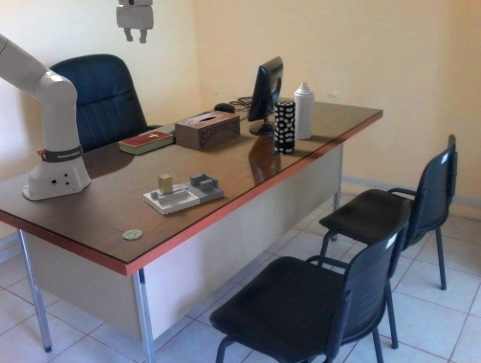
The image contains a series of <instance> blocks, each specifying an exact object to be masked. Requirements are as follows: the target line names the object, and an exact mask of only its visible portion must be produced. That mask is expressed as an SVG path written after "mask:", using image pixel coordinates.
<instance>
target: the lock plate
mask: <svg viewBox="0 0 481 363" xmlns="http://www.w3.org/2000/svg"><path fill="white" fill-rule="evenodd" d="M180 184H184V185H186V186H188V188H189V193H185V190H181V191H177V192H174V193H171V194H167V195H164V196H160V197H158V199H157V198H156V196H155V191H159V188H158V189H155V190H151V191H149V192H148V193H143V194H142V197H143V201H144V202H146V203H147V204H148V205H149V206H151V207H152V208H154V210H156V211H157V212H158V213H159V214H161V215H162V214H163V215H162V216H165V215H164V214H166V215H169V214H168V213H170V214H172V213H171V212H173V213H175V212H174V211H176V212H178V210H179V211H182V210H185V209H188V208H191V206H192V207H194V205H195V206H197V204H198V205H200V204H203V203H208V202H210V201H213V200H216V199H219V198H223V197H225V191H224V189H223V188H220V187H219V179H218V178H216V177H214V176H212V175H210V174H208V173H207V172H202V173H197V174H195V175H191V176H189V181H186V182H182V183H179V184H172V185H173V186H176V185H180ZM187 207H188V208H187ZM184 208H185V209H184ZM181 209H182V210H181Z"/></svg>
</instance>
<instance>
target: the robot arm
mask: <svg viewBox="0 0 481 363" xmlns="http://www.w3.org/2000/svg"><path fill="white" fill-rule="evenodd" d="M153 3H154V2H153V0H118V3H117V6H116V9H115V15H116V25H117V27H118V28H120V29H121V28H122V29H123V32H124V34H125V37H126V42H129V43H131V42H134V38H133V35H132V32H131V31H132V29H133V30H139V35H140V37H139V38H138V40H139V43H140V44H147V36H148V31H149V30H153V29H154V23H155V20H154V10H153V7H152V6H153ZM0 78H1V79H3V80H4V81H5V82H8V83H9V84H10V85H12V86H14V87H15V88H16V89H18V90H20V91H21V92H23V93H25V94H26V95H28V96H30V97H31V98H33V99H34V100H36V101H37V102H39V104H40V110H41V131H42V136H43V140H44V141H43V142H44V145H45V146H44V147H45V148H44V149H41V148H38V149H37V150H36V154H37V155H38V156H40V159H41V160H40V162H39V163H37V165H35V166H34V167H33V168H32V170H30V171H29V173H28V176H27V184H26V185H24V186H23V187H22V194H23V196H24V197H25V199H27V200H31V201H41V200H46V199H50V198H57V197H62V196H67V195H72V194H77V193H80V192H81V191H83V190H84V189H85V188H87V186H89V185H90V184H91V182H92V180H91V178H90V176H89V173H88V171H87V168H86V166H85V162H84V152H83V151H84V150H83V147H82V143H80V138H79V132H78V127H77V100H78V92H77V89H76V86H75V85H74V84H73V82H72V81H71V80H69V79H68V78H67V77H65V76H62V75H60V74H59V73H56V72H55V71H53V70H51V69H50V68H48V67H47V66H46V65H45V64H43V63H42V62H41V61H39V60H38V59H37V58H36V57H34V56H33V55H32V54H31V53H29V52H28V51H27V50H25V49H23V48H22V47H21V46H19V45H17V43H15V42H14V41H12V40H11V39H9V38H8V37H6V36H5V35H4V34H2V33H1V32H0Z"/></svg>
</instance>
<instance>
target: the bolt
mask: <svg viewBox="0 0 481 363" xmlns="http://www.w3.org/2000/svg"><path fill="white" fill-rule="evenodd" d="M157 181H158V189H159V191H155V196H156V198H157V199H158V197H160V196H164V195H167V194H171V193H174V192H177V191H181V190H185V193H189V188H188V186H186V185H184V184H182V183H179V184H180V185H178V184H175V185H176V186H173V185H174V184H173V177H172V175H170V174H168V173H162V174H159V175H157Z"/></svg>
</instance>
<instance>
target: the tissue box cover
mask: <svg viewBox="0 0 481 363" xmlns="http://www.w3.org/2000/svg"><path fill="white" fill-rule="evenodd" d="M174 130H175V131H174V132H175V141H176V142H175V144H176V146H180V147H184V148H187V149H190V150H193V151H197V152H201V151H203V150H206V149H209V148H212V147H214V146H218V145H221V144H223V143H226V142H229V141H231V140H235V139H237V138H240V137H241V115H239V114H235V113H229V112H224V111H219V110H215V111H212V112H209V113H205V114H202V115H198V116H195V117H190V118H187V119H184V120H181V121H177V122H175V123H174Z"/></svg>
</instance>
